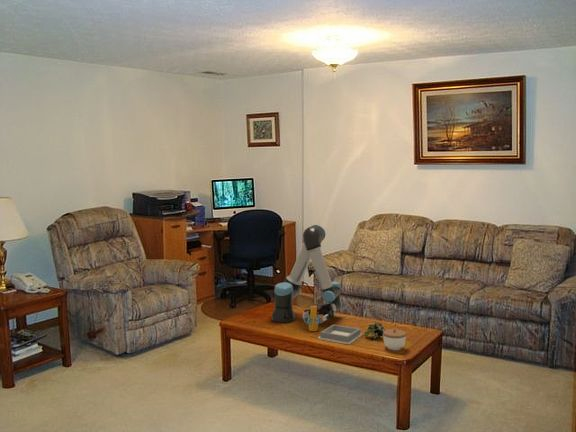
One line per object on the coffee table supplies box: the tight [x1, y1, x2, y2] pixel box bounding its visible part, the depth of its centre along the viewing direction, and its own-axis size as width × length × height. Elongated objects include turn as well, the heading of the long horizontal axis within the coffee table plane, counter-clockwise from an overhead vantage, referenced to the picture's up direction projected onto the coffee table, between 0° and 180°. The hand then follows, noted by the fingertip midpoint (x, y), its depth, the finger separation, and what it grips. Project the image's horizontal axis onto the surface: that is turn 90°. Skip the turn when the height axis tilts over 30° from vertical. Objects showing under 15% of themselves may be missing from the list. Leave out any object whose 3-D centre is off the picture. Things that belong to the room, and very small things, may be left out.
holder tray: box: [317, 324, 364, 345], centre depth 340 cm, size 20×20×4 cm
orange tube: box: [303, 305, 324, 332], centre depth 352 cm, size 12×10×15 cm
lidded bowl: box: [382, 328, 407, 351], centre depth 320 cm, size 13×13×11 cm
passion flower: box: [363, 322, 386, 340], centre depth 337 cm, size 11×11×12 cm
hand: (313, 317), depth 351 cm, fingers open, 13 cm apart
